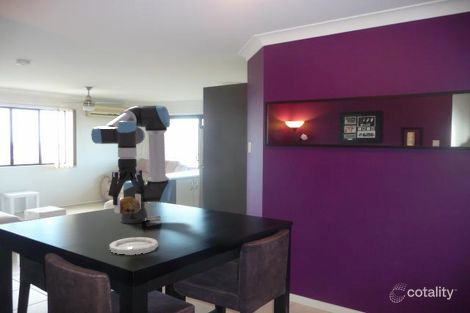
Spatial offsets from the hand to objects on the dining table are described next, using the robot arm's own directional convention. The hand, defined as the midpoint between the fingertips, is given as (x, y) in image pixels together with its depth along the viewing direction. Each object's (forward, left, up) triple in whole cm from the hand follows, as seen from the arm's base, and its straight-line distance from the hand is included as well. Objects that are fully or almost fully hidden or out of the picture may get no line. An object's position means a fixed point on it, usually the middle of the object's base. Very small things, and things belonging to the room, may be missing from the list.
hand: (127, 210), depth 154 cm
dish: (-1, +2, -16) cm, 16 cm away
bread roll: (0, 0, -1) cm, 1 cm away
